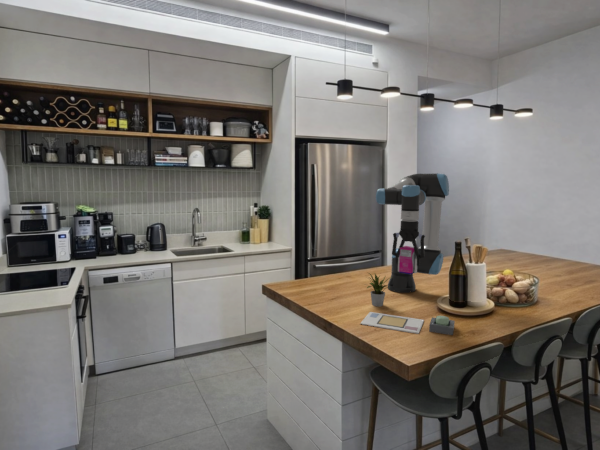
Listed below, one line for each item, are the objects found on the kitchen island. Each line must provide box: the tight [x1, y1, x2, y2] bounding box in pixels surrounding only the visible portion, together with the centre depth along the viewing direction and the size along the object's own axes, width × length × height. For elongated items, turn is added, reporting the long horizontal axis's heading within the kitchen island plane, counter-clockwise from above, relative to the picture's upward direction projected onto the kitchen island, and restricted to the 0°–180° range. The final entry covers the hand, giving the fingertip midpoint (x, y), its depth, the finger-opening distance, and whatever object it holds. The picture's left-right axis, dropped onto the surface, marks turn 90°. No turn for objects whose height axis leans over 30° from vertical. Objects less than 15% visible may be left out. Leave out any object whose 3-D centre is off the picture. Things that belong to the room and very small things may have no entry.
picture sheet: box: [359, 311, 425, 335], centre depth 172 cm, size 16×24×1 cm, turn 66°
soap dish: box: [428, 317, 456, 336], centre depth 165 cm, size 9×9×3 cm
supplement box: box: [399, 245, 416, 275], centre depth 178 cm, size 6×6×12 cm
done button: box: [435, 315, 450, 326], centre depth 164 cm, size 5×5×4 cm
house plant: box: [364, 272, 392, 307], centre depth 195 cm, size 14×14×16 cm
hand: (407, 271), depth 178 cm, fingers closed on supplement box, 6 cm apart
